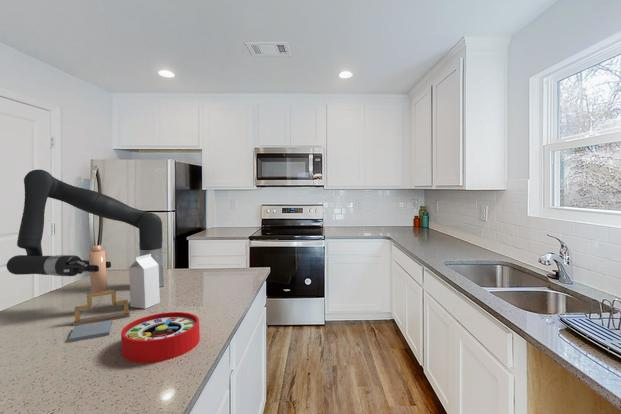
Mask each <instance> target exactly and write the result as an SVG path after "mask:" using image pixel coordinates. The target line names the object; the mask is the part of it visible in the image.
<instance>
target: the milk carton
mask: <svg viewBox="0 0 621 414" xmlns="http://www.w3.org/2000/svg"><path fill="white" fill-rule="evenodd" d="M128 274H129V275H128V276H129V297H130V298H129V299H130V307H131V308H137V309H142V310H143V309H144V310H145V309H148V308H151V307H153V306H155V305H157V304H160V303H161V300H160V295H161V294H160V287H159V269H158V264H157V262H156V261H155V260H154V259H153V258H152V257H151V254H148V255H144V256H140V255H139V256H135V260H134V262H133V263H132V264H130V266H129V267H128Z"/></svg>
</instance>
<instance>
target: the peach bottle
mask: <svg viewBox="0 0 621 414" xmlns="http://www.w3.org/2000/svg"><path fill="white" fill-rule="evenodd" d="M106 259H107V258H106V250H104V249H102V244H99V245H97V244H94V245H92V246H91V251H88V260H89V265H98V266H99V271H98V272H89V280H90V283H89V284H90V293H92V292H100V291H107V290H108V276H107V268H106Z"/></svg>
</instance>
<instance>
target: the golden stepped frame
mask: <svg viewBox="0 0 621 414" xmlns="http://www.w3.org/2000/svg"><path fill="white" fill-rule="evenodd" d="M116 292H117V290H116V289H109V290H108V289H107V290H104V291H100V292H88V293H86V304H85V305H79V306H78V305H77V306H74V320H73V323H72V326H74V327H75V326H80V325H86V324H92V323H98V322H104V321H111V320H112V321H113V320H119V319H124V318H130V317H131V311H130V310H129V299H127V298H126V299H122V300H121V299H120V300H117V293H116ZM108 295H110V296H111V306H112V307H114V306H121V305H123V311H122V312H116V313H110V314H104V315H96V316H91V317H84V318H83V317H82V318H81V312H82V311H88V310H92V309H93V298H94V297H95V298H96V297H103V296H108Z"/></svg>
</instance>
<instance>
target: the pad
mask: <svg viewBox="0 0 621 414" xmlns="http://www.w3.org/2000/svg"><path fill="white" fill-rule="evenodd" d="M112 323H113V320H107V321H101V322H95V323H88V324H82V325H76V326H74V327H73V330H72V331H71V334H70V336H69V338H68V343H72V342H77V341H82V340H88V339H95V338H99V337H100V338H101V337H105V336H110V333H111V329H112V325H113V324H112Z"/></svg>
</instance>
